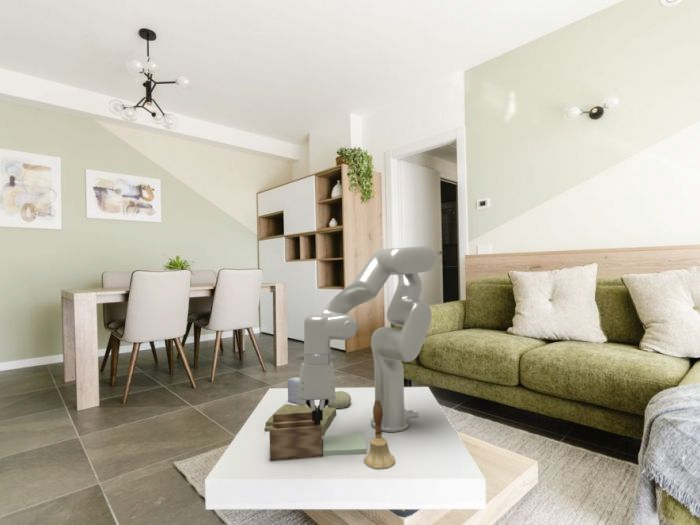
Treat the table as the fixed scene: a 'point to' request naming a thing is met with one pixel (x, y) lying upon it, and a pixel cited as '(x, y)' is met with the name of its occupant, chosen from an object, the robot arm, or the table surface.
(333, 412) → the decorative tile
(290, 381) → the medicine box
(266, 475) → the table surface
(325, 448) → the cover plate
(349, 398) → the sea urchin shell
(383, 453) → the hand bell
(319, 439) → the box
